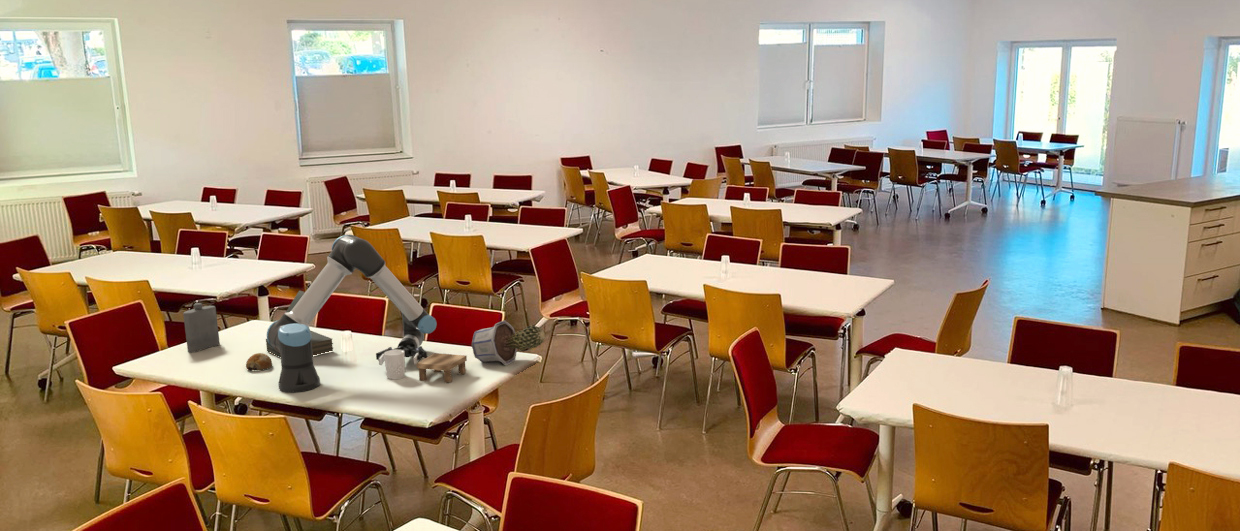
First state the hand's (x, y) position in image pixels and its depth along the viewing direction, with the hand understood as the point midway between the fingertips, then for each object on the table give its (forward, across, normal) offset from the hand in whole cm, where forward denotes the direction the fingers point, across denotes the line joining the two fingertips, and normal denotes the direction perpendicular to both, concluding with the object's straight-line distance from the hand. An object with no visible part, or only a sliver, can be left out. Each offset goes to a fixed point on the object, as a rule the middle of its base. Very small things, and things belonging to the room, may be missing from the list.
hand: (397, 361), depth 377 cm
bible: (-38, +50, -6) cm, 64 cm away
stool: (+3, -18, -6) cm, 19 cm away
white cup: (+1, +1, -6) cm, 6 cm away
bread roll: (-16, +60, -6) cm, 63 cm away
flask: (-49, +97, -6) cm, 109 cm away
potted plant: (-12, -43, -6) cm, 45 cm away
